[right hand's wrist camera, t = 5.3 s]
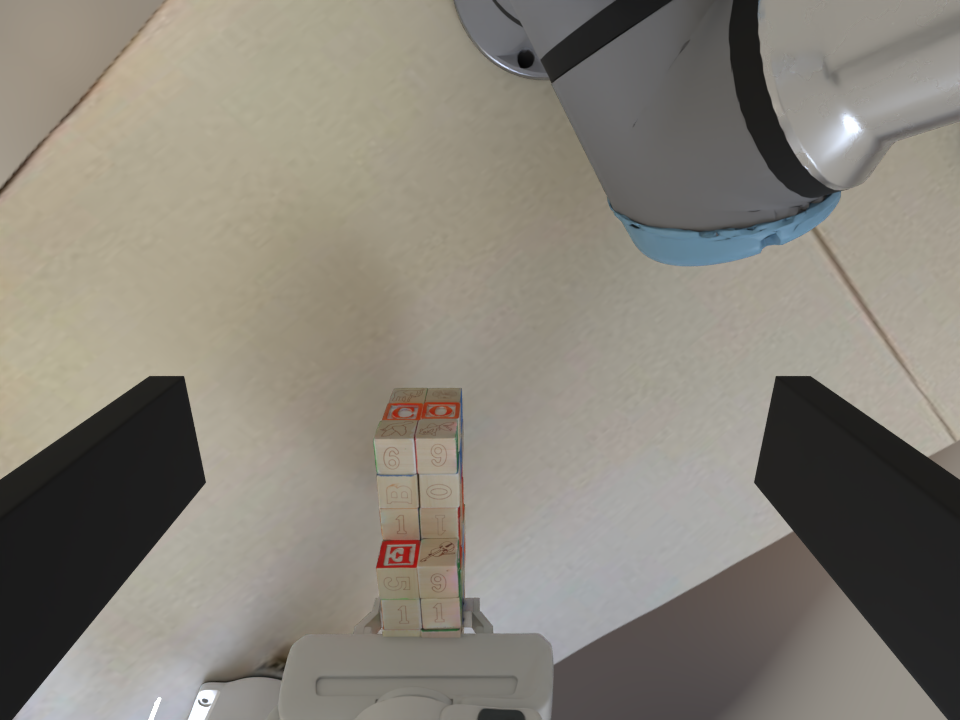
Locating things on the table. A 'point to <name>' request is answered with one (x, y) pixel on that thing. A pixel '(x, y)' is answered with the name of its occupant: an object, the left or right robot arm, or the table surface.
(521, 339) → the table surface
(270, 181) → the table surface
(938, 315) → the table surface
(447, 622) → the stack of blocks
